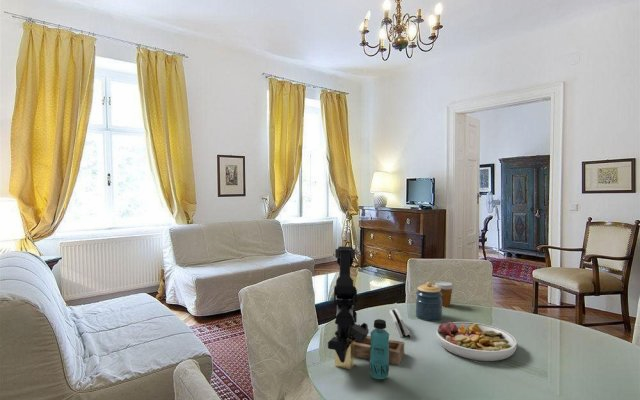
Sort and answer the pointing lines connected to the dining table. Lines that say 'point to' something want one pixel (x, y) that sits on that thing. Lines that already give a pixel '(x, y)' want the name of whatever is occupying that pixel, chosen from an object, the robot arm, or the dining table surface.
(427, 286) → the canister
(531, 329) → the dining table surface
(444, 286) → the disposable coffee cup
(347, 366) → the tan block
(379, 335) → the beverage bottle
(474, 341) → the charcuterie platter
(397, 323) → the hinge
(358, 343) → the recessed tan tray
